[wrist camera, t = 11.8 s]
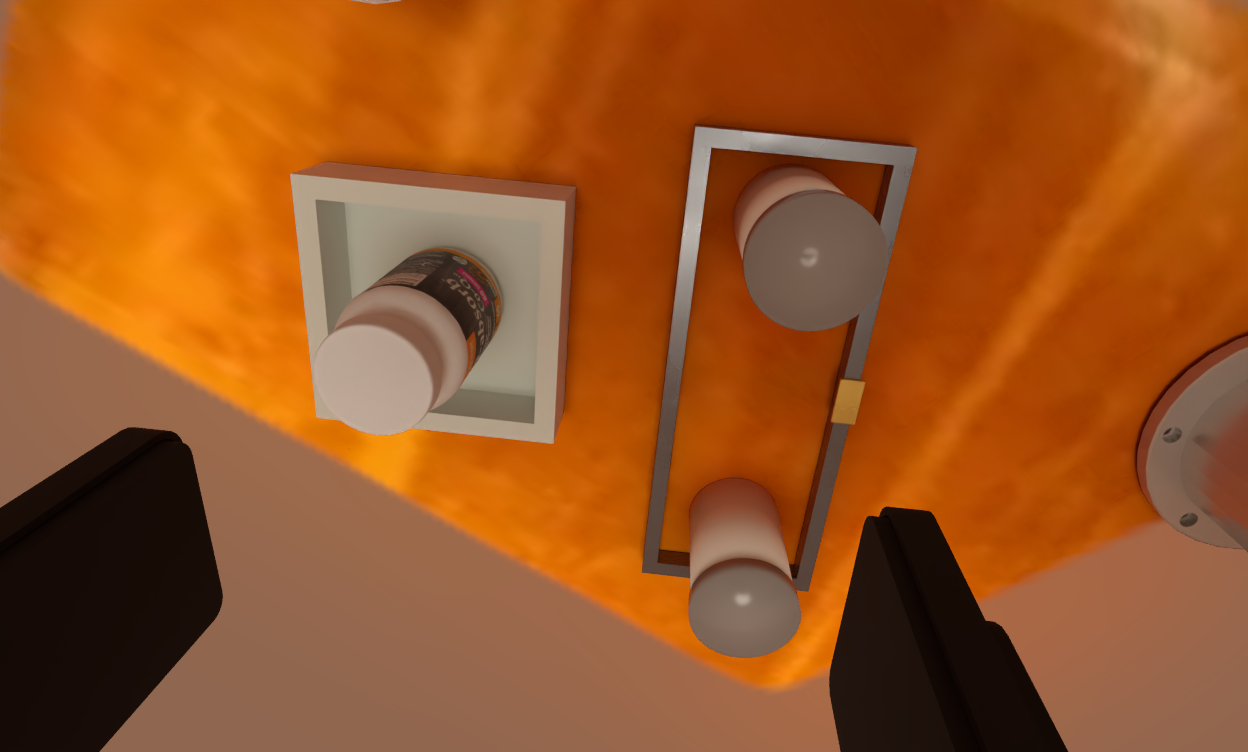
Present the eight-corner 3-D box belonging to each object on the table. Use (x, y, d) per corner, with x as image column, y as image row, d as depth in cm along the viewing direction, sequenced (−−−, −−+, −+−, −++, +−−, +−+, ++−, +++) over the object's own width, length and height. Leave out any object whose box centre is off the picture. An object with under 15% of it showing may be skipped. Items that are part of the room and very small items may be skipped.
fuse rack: (914, 144, 32) (923, 148, 31) (808, 578, 43) (812, 594, 41) (694, 123, 33) (695, 126, 31) (643, 559, 43) (641, 574, 42)
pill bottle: (522, 333, 37) (472, 427, 28) (422, 364, 38) (343, 464, 29) (477, 227, 35) (407, 292, 26) (372, 264, 36) (270, 338, 27)
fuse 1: (787, 482, 40) (810, 579, 33) (771, 557, 42) (789, 663, 35) (693, 471, 40) (696, 565, 33) (682, 546, 42) (682, 650, 35)
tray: (576, 186, 34) (565, 201, 31) (563, 411, 39) (553, 443, 36) (326, 161, 34) (290, 173, 31) (346, 387, 39) (316, 417, 36)
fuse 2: (854, 167, 33) (903, 202, 26) (830, 277, 35) (870, 338, 28) (739, 156, 33) (756, 187, 26) (723, 266, 35) (735, 323, 28)
